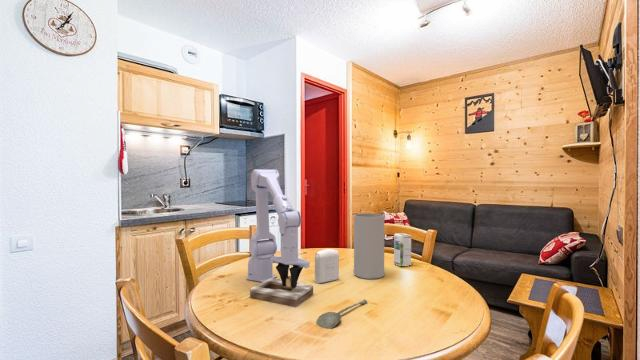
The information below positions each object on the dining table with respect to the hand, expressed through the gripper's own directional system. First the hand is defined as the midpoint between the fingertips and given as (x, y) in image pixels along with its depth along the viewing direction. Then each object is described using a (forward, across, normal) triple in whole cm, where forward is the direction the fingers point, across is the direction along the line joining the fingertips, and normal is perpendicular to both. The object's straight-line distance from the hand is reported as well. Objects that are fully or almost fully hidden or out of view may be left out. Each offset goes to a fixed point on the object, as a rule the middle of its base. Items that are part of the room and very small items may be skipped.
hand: (289, 286), depth 105 cm
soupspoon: (+4, -22, +3) cm, 22 cm away
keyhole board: (+4, +3, 0) cm, 5 cm away
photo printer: (+4, -4, -21) cm, 22 cm away
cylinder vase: (+4, -16, -36) cm, 39 cm away
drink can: (+4, -26, -56) cm, 62 cm away
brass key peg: (+3, 0, 0) cm, 3 cm away
